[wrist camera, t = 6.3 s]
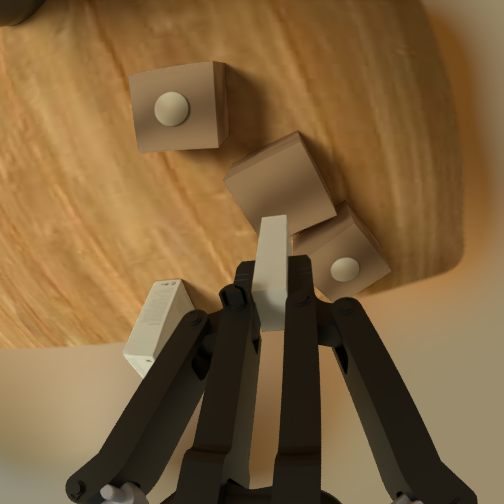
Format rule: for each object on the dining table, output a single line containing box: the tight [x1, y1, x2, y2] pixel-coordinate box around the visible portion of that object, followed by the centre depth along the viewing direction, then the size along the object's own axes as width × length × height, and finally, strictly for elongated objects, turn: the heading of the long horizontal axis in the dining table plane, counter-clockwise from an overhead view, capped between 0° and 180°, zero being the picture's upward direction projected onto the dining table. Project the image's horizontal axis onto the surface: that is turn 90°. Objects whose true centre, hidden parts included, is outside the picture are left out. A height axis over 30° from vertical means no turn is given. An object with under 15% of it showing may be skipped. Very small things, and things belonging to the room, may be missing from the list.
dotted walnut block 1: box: [129, 61, 229, 154], centre depth 22 cm, size 7×7×5 cm
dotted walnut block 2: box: [293, 201, 392, 303], centre depth 29 cm, size 7×7×5 cm
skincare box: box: [123, 279, 195, 379], centre depth 33 cm, size 6×4×12 cm
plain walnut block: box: [223, 130, 337, 236], centre depth 26 cm, size 7×7×5 cm
